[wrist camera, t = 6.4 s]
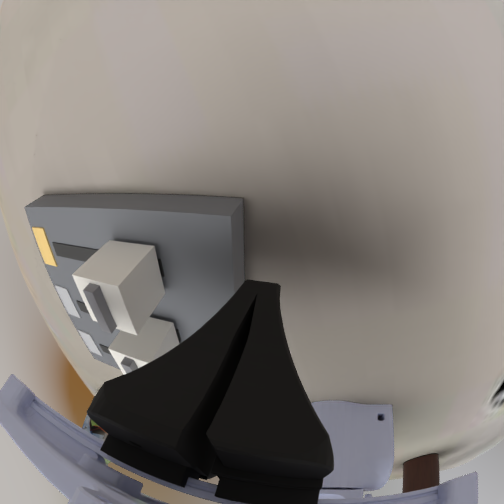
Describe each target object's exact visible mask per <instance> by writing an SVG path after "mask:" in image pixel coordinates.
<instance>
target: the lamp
mask: <svg viewBox="0 0 504 504" xmlns="http://www.w3.org/2000/svg"><path fill="white" fill-rule="evenodd" d="M435 486H439V456H438V454H429V455H424V456H421V457H417V458H414V459H411V460H409V461H407V462H405V463H404V464H403V493H407V492H412V491H417V490H422V489H426V488H431V487H435Z"/></svg>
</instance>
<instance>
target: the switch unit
mask: <svg viewBox="0 0 504 504" xmlns="http://www.w3.org/2000/svg"><path fill="white" fill-rule="evenodd" d="M25 210H26V214H27V217H28V220H29V223H30V226H31V229H32V232H33V235H34V238H35V241H36V244H37V247H38V249H39V252H40V254H41V257H42V259H43V262H44V264H45V267H46V269H47V272H48V274H49V276H50V278H51V281H52V283H53V285H54V287H55V289H56V291H57V293H58V296H59V298H60V300H61V302H62V304H63V306H64V307H65V309H66V311H67V313H68V315H69V317H70V319H71V321H72V322H73V324H74V326H75V328H76V329H77V331H78V333H79V335H80V336H81V338H82V340H83V341H84V343H85V345H86V346H87V348H88V349H89V351H90V353H91V354H92V356H93V357H94V359H97V360H99V361H101V362H103V363H106V364H108V365H111V366H113V367H115V368H118V369H120V368H119V366H118V364H117V363H116V361H115V359H114V358H113V356H112V354H111V353H110V351H109V349H108V348H109V346H110V345H111V343H112V342H113V340H114V339H115V338H116V336H117V335H118V333H119V332H120V330H119V329H115V330H114V331H113V333H112V334H110V333H107V332H105V331H102V329H101V328H100V326H99V324H98V322H96V321H93V320H92V318H91V316H90V314H89V312H88V310H87V307H86V305H85V303H84V301H83V299H82V297H81V294H80V292H79V290H78V288H77V285H76V283H75V281H74V278H73V276H72V274H73V273H74V272H75V271H76V270H77V269H78V268H79V267H81V266H82V265H83V264H84V263H85V262H86V261H87V260H88V259H89V258H90V257H91V256H92V255H93V254H94V253H96V252H97V251H98V250H99V249H100V248H101V247H102V246H103V245H105V244H106V243H107V242H108V241H109V240H112V241H119V242H127V243H135V244H143V245H151V246H155V251H156V255H157V260H158V264H159V269H160V273H161V277H162V282H163V286H164V290H165V294H164V296H163V297H162V299H161V300H160V302H159V303H158V305H157V306H156V308H155V309H154V311H153V312H152V314H151V315H150V317H152V318H156V319H160V320H164V321H168V322H172V323H174V327H175V330H176V334H177V337H178V340H179V344H180V343H182V342H183V341H184V340H186V339H187V338H188V337H190V336H191V335H192V334H194V333H195V332H196V331H197V330H198V329H200V328H201V327H202V326H203V325H204V324H205V323H206V322H207V321H208V320H210V319H211V318H212V317H213V316H214V315H215V314H216V313H217V312H218V311H219V310H220V309H221V308H222V307H223V306H224V305H225V304H226V303H227V302H228V300H229V299H230V298H231V297H232V296H233V295H234V294H235V293H236V291H237V290H238V289H239V288H240V286H241V285H242V284H243V283H244V281H245V273H244V215H243V198H233V197H217V196H198V195H174V194H121V193H110V194H60V195H43V196H42V197H40V198H38V199H37V200H35V201H33V202H32V203H30V204H29V205H27V206H25ZM120 370H121V369H120Z"/></svg>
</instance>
